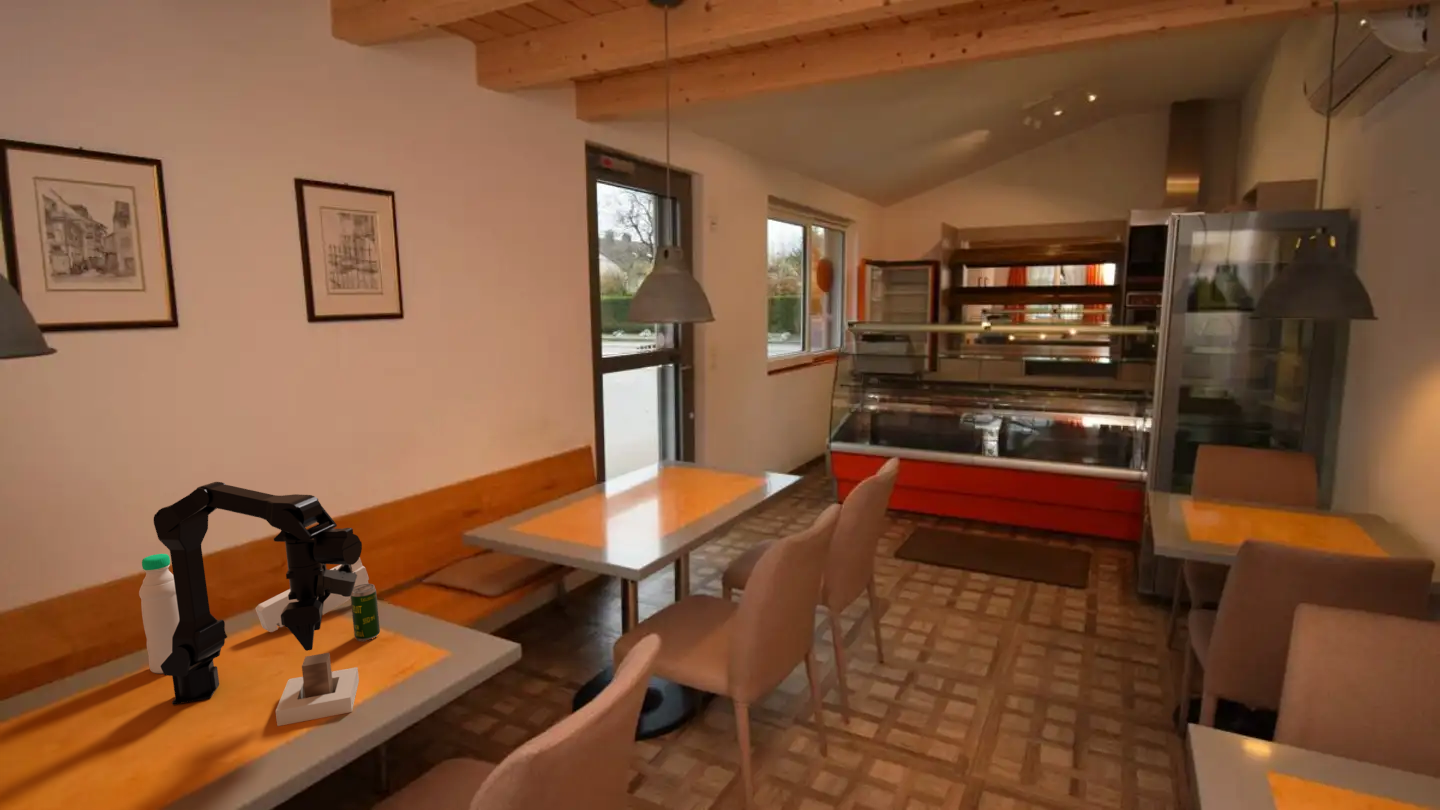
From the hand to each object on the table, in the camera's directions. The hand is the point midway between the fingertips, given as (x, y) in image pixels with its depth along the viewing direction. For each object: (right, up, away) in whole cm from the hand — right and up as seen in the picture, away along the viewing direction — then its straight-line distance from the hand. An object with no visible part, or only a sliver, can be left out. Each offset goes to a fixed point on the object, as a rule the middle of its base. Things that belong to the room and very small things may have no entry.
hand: (313, 639), depth 143 cm
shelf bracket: (-21, -8, +42) cm, 47 cm away
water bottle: (-41, -12, +17) cm, 46 cm away
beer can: (-4, -9, +30) cm, 31 cm away
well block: (0, -13, +2) cm, 13 cm away
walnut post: (0, -13, +2) cm, 13 cm away
